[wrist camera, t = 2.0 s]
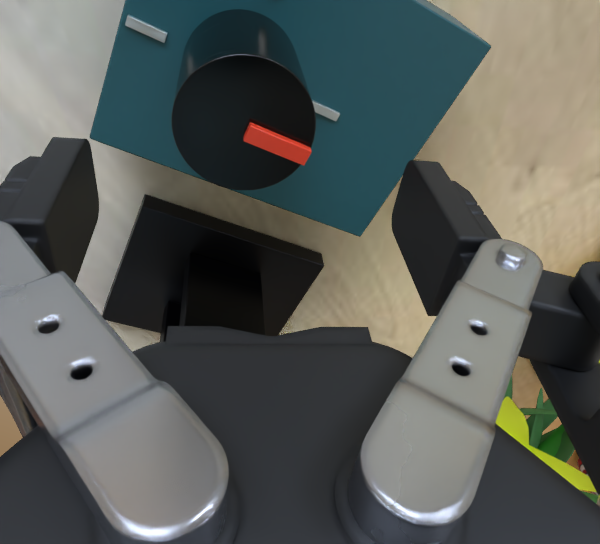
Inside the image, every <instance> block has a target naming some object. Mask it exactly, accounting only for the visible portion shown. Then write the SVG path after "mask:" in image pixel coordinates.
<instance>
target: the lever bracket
mask: <svg viewBox="0 0 600 544" xmlns="http://www.w3.org/2000/svg"><path fill="white" fill-rule="evenodd" d="M323 267H324V263H323V259H322V254H320V253H318V252H315V251H312V250H309V249H306V248H303V247H300V246H297V245H294V244H291V243H288V242H285V241H282V240H279V239H276V238H273V237H270V236H267V235H264V234H261V233H258V232H255V231H252V230H249V229H246V228H243V227H240V226H238V225H235V224H232V223H229V222H226V221H223V220H220V219H217V218H214V217H211V216H208V215H205V214H202V213H199V212H196V211H193V210H190V209H187V208H184V207H181V206H178V205H175V204H172V203H169V202H166V201H163V200H160V199H158V198H155V197H152V196H149V195H144V198H143V201H142V204H141V206H140V209H139V212H138V215H137V218H136V220H135V223H134V226H133V229H132V231H131V234H130V237H129V240H128V243H127V245H126V248H125V251H124V254H123V257H122V259H121V262H120V265H119V268H118V270H117V273H116V276H115V279H114V282H113V284H112V287H111V290H110V293H109V296H108V298H107V301H106V304H105V307H104V311H103V315H102V317H103V318H104V319H105V320H108V321H112V322H116V323H121V324H125V325H129V326H133V327H138V328H142V329H146V330H150V331H154V332H159V333H161V337H160V342H164V341H166V335H167V327H168V326H220V327H225V328H230V329H235V330H240V331H246V332H251V333H256V334H261V335H266V336H278V334H279V333H280V331H281V330H282V328H283V327H284V325H285V324H286V322H287V321H288V319H289V318H290V316H291V315H292V313H293V312H294V310H295V309H296V307H297V306H298V304H299V303H300V301H301V300H302V298H303V297H304V295H305V294H306V292H307V291H308V289H309V288H310V286H311V285H312V283H313V282H314V280H315V279H316V277H317V276H318V274H319V273H320V271H321V270H322V268H323Z"/></svg>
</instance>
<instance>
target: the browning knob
mask: <svg viewBox="0 0 600 544" xmlns="http://www.w3.org/2000/svg"><path fill="white" fill-rule="evenodd" d="M171 126H172V132H173V137H174V140H175V144H176V146H177V148H178V150H179V152H180V154H181V155H182V157H183V159H184V160H185V161H186V162H187V164H188V165H189V166H190V167H191V168H192V169H193V170H194V171H195V172H196V173H197V174H199V175H200V176H201V177H203V178H204V179H206V180H208V181H209V182H211V183H214V184H216V185H218V186H221V187H224V188H228V189H234V190H257V189H262V188H266V187H269V186H272V185H274V184H277V183H279V182H281V181H282V180H284V179H286V178H287V177H288V176H290V175H291V174H292V173H293V172H295V171H296V170H297V169H298V168H299V166H300V165H303V166H304V165H305V163H306V162H307V160H308V158H309V156H310V154H311V153H312V150H311V147H312V144H313V141H314V137H315V132H316V115H315V109H314V105H313V102H312V99H311V96H310V93H309V90H308V87H307V84H306V81H305V78H304V75H303V72H302V69H301V66H300V63H299V60H298V57H297V54H296V51H295V49H294V46H293V44H292V42H291V40H290V39H289V37H288V36H287V34H286V33H285V31H284V30H283V29H282V28H281V27H280V26H279V25H278V24H277V23H275V22H274V21H273V20H271V19H270V18H268V17H266V16H265V15H262V14H260V13H258V12H254V11H250V10H244V9H232V10H225V11H222V12H219V13H216V14H214V15H212V16H210V17H208V18H207V19H206V20H204V21H203V22H202V23H201V24H199V25H198V26H197V27H196V29H195V30H194V31H193V32H192V34H191V36H190V37H189V39H188V41H187V43H186V46H185V49H184V52H183V57H182V62H181V67H180V72H179V77H178V82H177V87H176V92H175V97H174V102H173V108H172V116H171Z"/></svg>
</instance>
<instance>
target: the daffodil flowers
mask: <svg viewBox="0 0 600 544" xmlns="http://www.w3.org/2000/svg"><path fill="white" fill-rule="evenodd" d="M599 363H600V360H599ZM524 415H531V416H530V417H529V418H528V419H527V420H526V419H525V417H524ZM557 416H558V415H557V413H556V411H555V409H554V407H553V405H552V403H551V401H550V399H548V400H547V401H546V402H545V403H544V404H543V392H542V388H541V389H540V392H539V396H538V400H537V406H536V408H521V409H518V408H517V406H516V405H515V404H514V402H513V401H512V375H511V378H510V381H509V384H508V387H507V390H506V393H505V396H504V399H503V402H502V405H501V408H500V410H499V413H498V416H497V419H496V424H497V425H498V426H499V427H501V428H502V429H503V430H504V431H506V432H507V433H508V434H509V435H511V436H512V437H513V438H514V439H516V440H517V441H518V442H519V443H521V444H522V445H523V446H525V447H526V448H527V449H528V450H530V451H531V452H532V453H533V454H535V455H536V456H537V457H538V458H540V459H541V460H542V461H543V462H545V463H546V464H547V465H548V466H550V467H551V468H552V469H553V470H555V471H556V472H557V473H558V474H560V475H561V476H562V477H563V478H565V479H566V480H567V481H568V482H570V483H571V484H572V485H573V486H575V487H576V488H577V489H578V490H585V491H592V492H597V491H596V489H595V488H594V486H593V484H592V482H591V480H590V478H589V476H587V475H586V474H584V473H582V472H581V471H579V470H577V469H575V468H574V467H572V466H570V465H568V464H567V463H566V462H567V461H568V459H569V458H570V457H571V456H572V454H573V452H574V450H575V448H574V446H573V444H572V443H571V441H570V439H569V437H568V435H567V433H566V431H565V429H564V427H563V425H560V426H559V427H558V428H556V429H554V430H552V431H550V432H548V433H546V434H544V435H542V432H543V431H544V430H545V429H546V428H547V427H548V426H549V425H550V424H551V423H552V422H553V421H554V420H555V419H556V418H557ZM581 492H582V493H584V494H585V495H586V496H587V497H589V498H590V499H591V500H592V501H594V502H595V503H596V504H597V500H598V497H599V496H598V495H595V494H591V493H588V492H584V491H581Z"/></svg>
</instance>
